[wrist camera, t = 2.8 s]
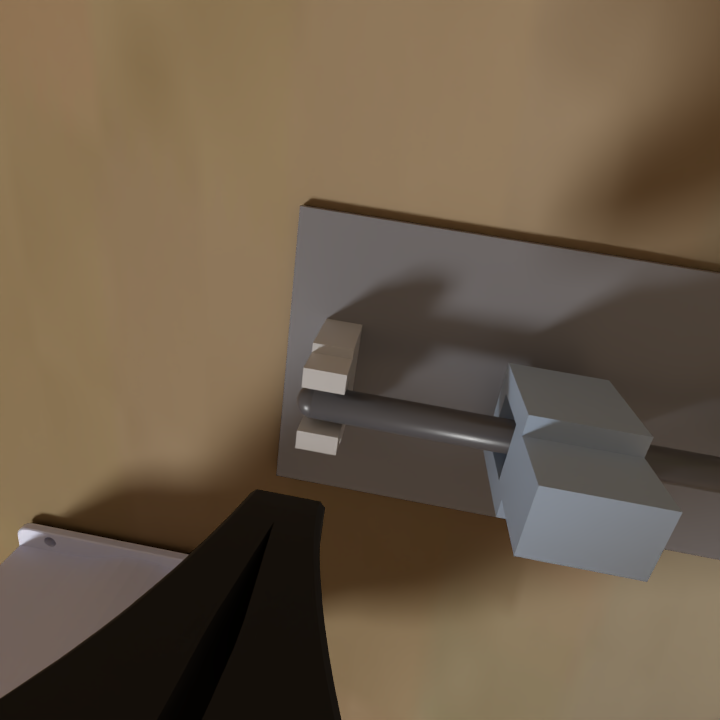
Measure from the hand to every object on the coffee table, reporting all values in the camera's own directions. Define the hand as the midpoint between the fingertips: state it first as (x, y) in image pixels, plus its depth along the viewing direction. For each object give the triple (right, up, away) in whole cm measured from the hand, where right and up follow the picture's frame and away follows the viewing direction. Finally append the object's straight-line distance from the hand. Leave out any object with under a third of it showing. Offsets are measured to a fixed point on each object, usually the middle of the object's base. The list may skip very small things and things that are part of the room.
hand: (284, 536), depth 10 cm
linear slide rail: (+9, +2, +7) cm, 12 cm away
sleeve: (+7, +2, +6) cm, 10 cm away
